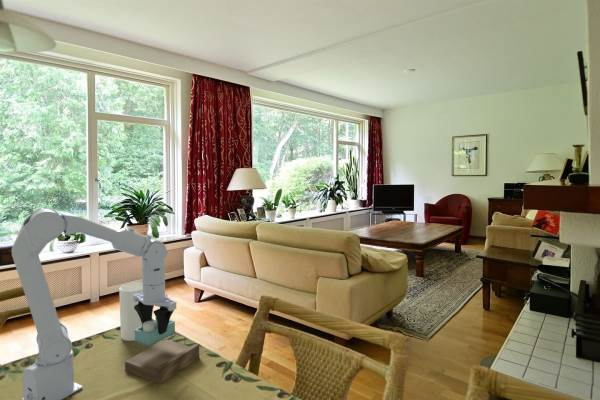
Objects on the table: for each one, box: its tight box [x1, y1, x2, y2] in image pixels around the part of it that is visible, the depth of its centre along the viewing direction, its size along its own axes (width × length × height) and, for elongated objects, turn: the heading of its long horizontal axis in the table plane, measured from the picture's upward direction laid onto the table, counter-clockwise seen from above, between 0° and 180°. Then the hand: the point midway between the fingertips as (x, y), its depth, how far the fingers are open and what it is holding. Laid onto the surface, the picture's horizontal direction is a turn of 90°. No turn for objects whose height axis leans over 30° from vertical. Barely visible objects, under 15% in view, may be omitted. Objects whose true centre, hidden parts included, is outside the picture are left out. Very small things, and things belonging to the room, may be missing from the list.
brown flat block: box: [124, 338, 200, 385], centre depth 98 cm, size 14×13×4 cm
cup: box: [118, 282, 143, 342], centre depth 114 cm, size 8×8×16 cm
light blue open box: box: [134, 318, 176, 348], centre depth 99 cm, size 9×5×5 cm, turn 153°
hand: (155, 330), depth 99 cm, fingers closed on light blue open box, 5 cm apart
